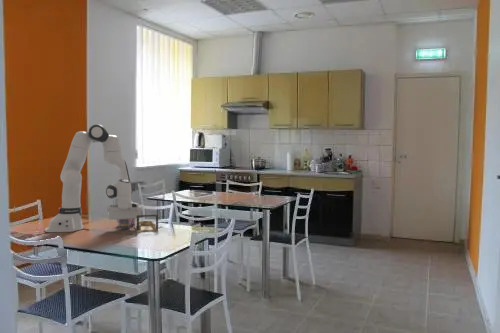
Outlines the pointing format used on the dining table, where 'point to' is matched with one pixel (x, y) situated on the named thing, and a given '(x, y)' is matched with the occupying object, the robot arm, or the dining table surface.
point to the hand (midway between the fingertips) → (124, 225)
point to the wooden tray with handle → (146, 224)
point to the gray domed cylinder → (124, 224)
